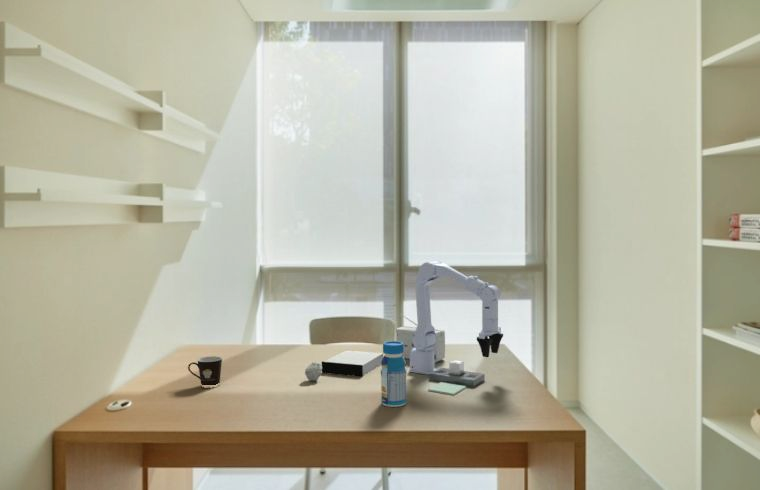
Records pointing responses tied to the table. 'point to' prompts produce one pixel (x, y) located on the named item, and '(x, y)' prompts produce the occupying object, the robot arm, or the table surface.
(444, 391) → the rubber pad
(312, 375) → the frog figurine
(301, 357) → the table surface
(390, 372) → the beverage bottle
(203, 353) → the table surface
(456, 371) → the steel peg
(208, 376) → the coffee mug
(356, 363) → the disc drive
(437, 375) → the plate with square hole
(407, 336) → the stereo radio cassette player
